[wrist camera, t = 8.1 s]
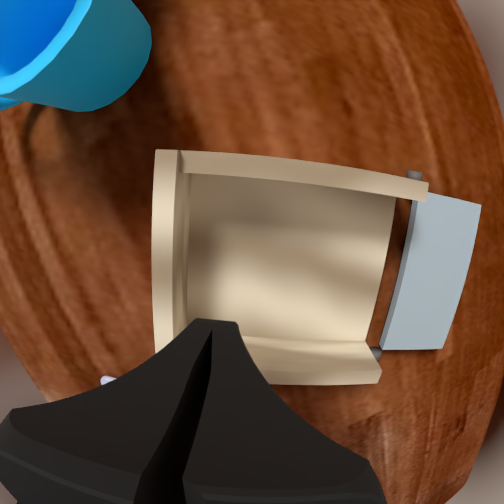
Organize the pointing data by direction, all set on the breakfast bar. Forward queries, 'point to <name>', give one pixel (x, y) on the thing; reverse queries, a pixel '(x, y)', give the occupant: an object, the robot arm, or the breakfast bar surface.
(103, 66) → the mug
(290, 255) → the box
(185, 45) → the breakfast bar surface
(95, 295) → the breakfast bar surface
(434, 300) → the panel
